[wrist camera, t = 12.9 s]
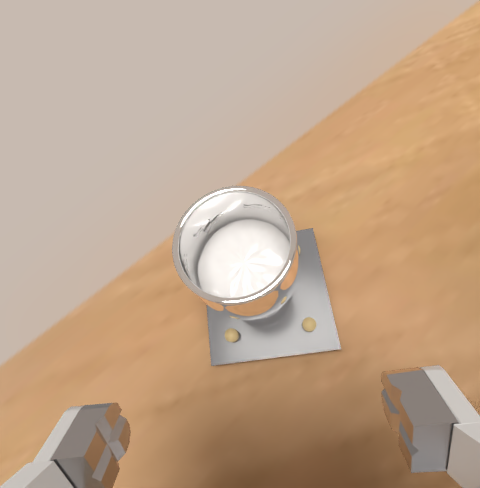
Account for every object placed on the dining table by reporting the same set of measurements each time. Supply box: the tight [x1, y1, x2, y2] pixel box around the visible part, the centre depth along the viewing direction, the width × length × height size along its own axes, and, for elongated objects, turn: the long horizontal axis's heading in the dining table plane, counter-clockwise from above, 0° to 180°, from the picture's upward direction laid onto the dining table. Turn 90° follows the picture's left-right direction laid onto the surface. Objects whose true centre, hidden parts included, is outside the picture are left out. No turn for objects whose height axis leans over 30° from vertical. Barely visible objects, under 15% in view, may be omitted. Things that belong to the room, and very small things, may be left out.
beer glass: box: [172, 186, 299, 326], centre depth 22 cm, size 7×7×15 cm
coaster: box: [207, 228, 341, 366], centre depth 29 cm, size 12×12×2 cm
